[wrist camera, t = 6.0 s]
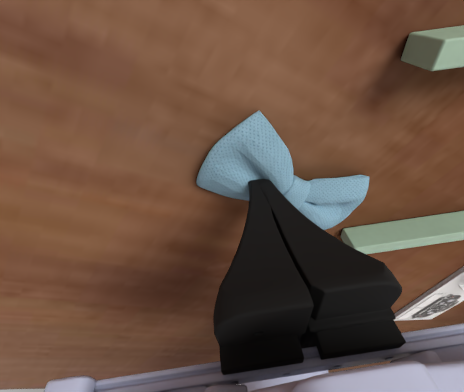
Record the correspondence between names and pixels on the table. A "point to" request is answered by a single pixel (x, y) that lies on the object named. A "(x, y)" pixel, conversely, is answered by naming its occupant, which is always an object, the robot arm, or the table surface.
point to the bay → (429, 227)
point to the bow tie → (276, 174)
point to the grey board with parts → (435, 299)
